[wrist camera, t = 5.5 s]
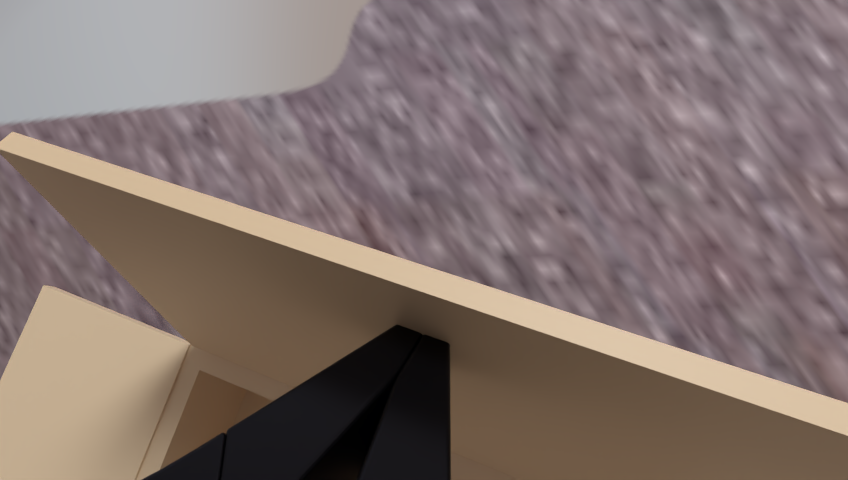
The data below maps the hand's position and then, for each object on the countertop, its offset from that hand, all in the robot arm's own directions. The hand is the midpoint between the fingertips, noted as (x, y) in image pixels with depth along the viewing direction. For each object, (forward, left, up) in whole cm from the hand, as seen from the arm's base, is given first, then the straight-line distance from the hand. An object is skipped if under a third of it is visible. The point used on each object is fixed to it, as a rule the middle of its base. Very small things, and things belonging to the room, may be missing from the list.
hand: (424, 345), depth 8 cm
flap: (-1, 0, -2) cm, 2 cm away
